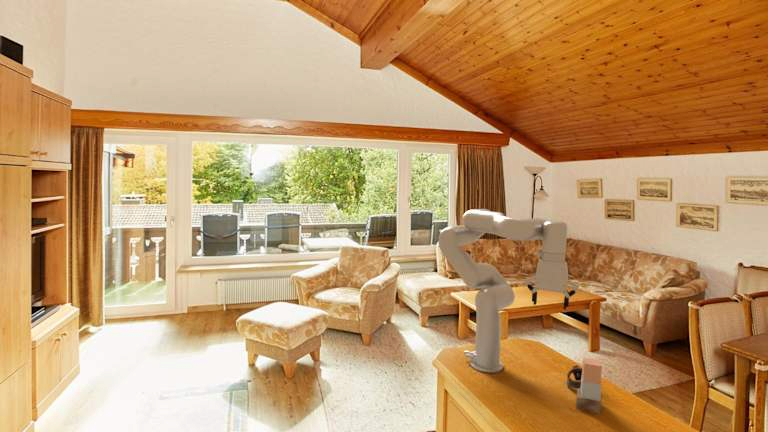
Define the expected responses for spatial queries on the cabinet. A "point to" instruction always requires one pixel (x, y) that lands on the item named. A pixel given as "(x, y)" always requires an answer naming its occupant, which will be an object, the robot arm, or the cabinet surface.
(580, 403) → the tan cardboard-coloured box
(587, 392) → the greyblue cube
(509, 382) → the cabinet surface
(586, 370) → the terracotta block
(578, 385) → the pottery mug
